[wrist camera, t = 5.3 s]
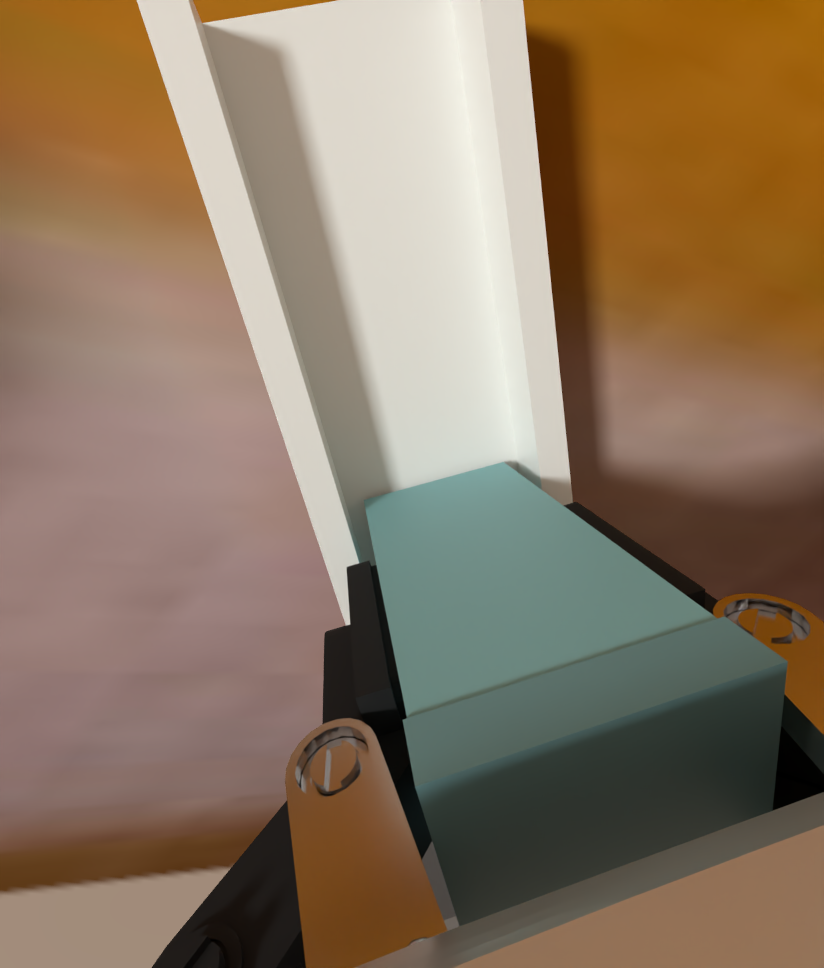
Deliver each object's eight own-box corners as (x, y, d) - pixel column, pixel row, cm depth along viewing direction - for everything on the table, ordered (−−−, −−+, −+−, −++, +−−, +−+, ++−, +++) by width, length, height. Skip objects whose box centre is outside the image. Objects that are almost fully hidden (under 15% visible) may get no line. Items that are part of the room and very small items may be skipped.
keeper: (505, 459, 12) (787, 661, 5) (523, 583, 14) (763, 890, 6) (361, 498, 12) (415, 787, 4) (396, 621, 13) (482, 999, 6)
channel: (470, 9, 10) (650, -409, 4) (562, 698, 17) (673, 872, 12) (177, 61, 9) (-50, -346, 4) (399, 751, 17) (434, 961, 11)
